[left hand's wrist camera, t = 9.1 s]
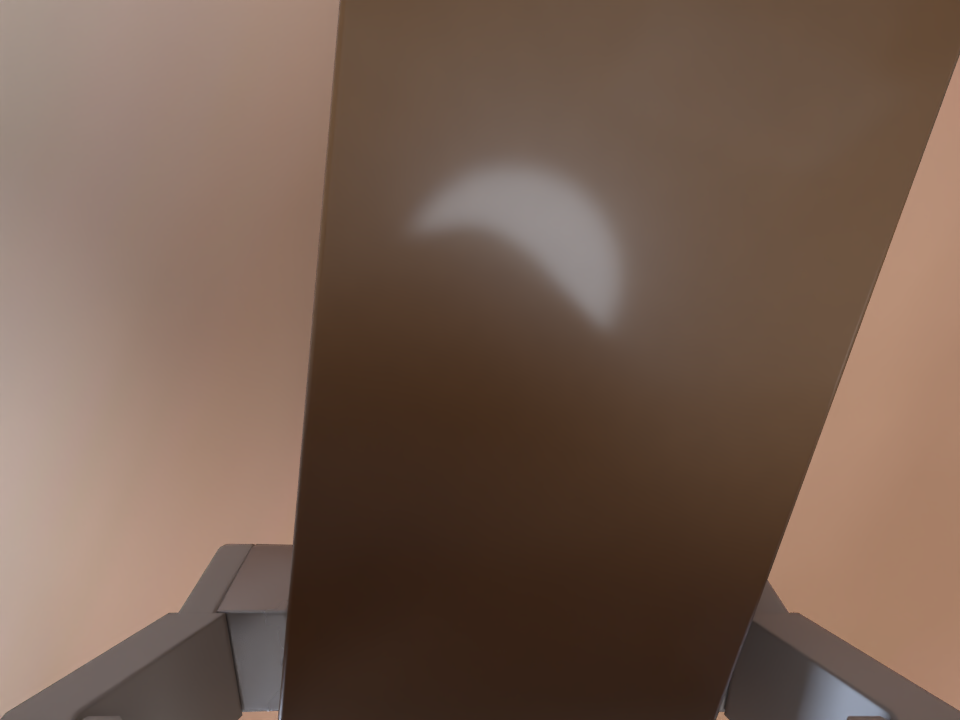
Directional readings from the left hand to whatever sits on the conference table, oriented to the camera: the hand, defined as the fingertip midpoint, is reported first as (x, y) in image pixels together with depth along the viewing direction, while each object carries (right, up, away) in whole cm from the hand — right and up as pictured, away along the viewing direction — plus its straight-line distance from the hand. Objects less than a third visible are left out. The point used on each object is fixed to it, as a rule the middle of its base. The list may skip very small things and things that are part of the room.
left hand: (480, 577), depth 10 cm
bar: (+4, +21, -4) cm, 22 cm away
